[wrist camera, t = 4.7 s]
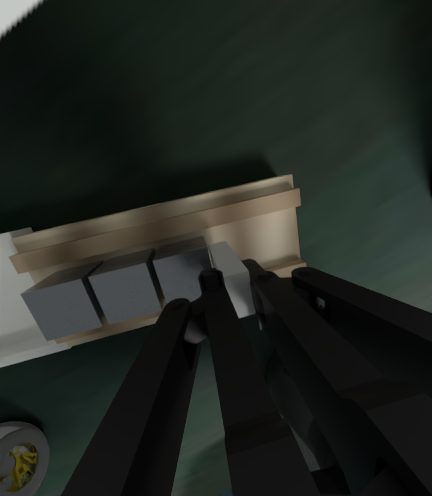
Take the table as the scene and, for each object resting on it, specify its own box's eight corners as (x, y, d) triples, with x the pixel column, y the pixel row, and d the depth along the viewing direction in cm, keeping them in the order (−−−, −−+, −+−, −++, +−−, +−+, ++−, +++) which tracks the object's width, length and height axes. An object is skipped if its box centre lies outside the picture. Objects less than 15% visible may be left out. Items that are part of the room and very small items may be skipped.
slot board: (277, 176, 21) (297, 173, 17) (288, 272, 24) (308, 287, 21) (36, 231, 19) (0, 241, 16) (83, 327, 23) (62, 355, 19)
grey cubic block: (102, 260, 18) (80, 278, 14) (118, 299, 19) (102, 326, 15) (55, 271, 18) (20, 294, 14) (74, 310, 19) (47, 341, 15)
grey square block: (153, 247, 18) (145, 262, 15) (166, 286, 20) (161, 310, 16) (108, 258, 18) (87, 277, 14) (124, 297, 19) (108, 324, 15)
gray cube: (202, 235, 19) (207, 247, 15) (212, 274, 20) (218, 295, 16) (159, 246, 18) (152, 261, 15) (171, 285, 20) (168, 308, 16)
